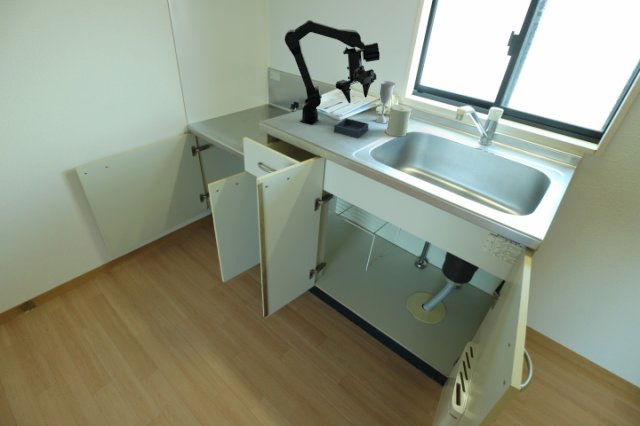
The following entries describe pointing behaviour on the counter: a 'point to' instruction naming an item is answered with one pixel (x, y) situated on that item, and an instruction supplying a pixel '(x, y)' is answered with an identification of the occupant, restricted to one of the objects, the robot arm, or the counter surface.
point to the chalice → (385, 97)
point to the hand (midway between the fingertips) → (357, 100)
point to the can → (398, 120)
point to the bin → (351, 127)
